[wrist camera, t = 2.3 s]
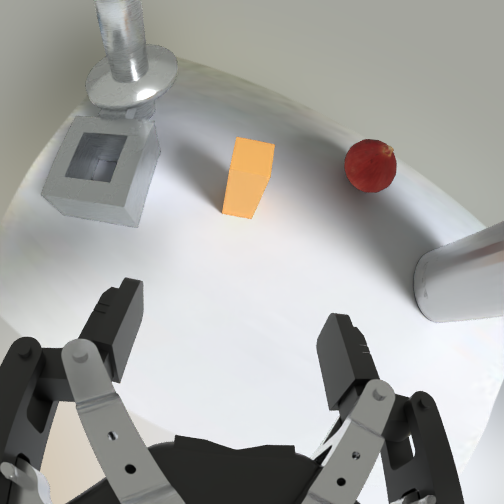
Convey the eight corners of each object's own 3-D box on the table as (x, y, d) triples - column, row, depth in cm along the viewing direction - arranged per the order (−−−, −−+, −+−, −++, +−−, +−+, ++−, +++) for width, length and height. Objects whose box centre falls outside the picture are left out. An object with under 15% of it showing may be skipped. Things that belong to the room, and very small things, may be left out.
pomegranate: (328, 159, 33) (357, 119, 25) (368, 160, 34) (401, 125, 26) (340, 204, 32) (376, 171, 24) (381, 202, 33) (420, 173, 25)
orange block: (255, 192, 30) (274, 144, 22) (251, 219, 30) (270, 177, 21) (227, 187, 30) (236, 136, 21) (221, 213, 29) (229, 169, 21)
